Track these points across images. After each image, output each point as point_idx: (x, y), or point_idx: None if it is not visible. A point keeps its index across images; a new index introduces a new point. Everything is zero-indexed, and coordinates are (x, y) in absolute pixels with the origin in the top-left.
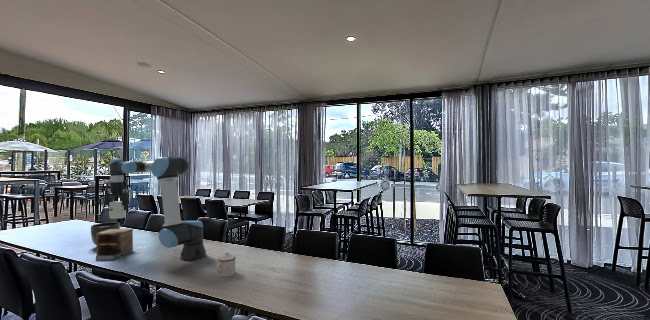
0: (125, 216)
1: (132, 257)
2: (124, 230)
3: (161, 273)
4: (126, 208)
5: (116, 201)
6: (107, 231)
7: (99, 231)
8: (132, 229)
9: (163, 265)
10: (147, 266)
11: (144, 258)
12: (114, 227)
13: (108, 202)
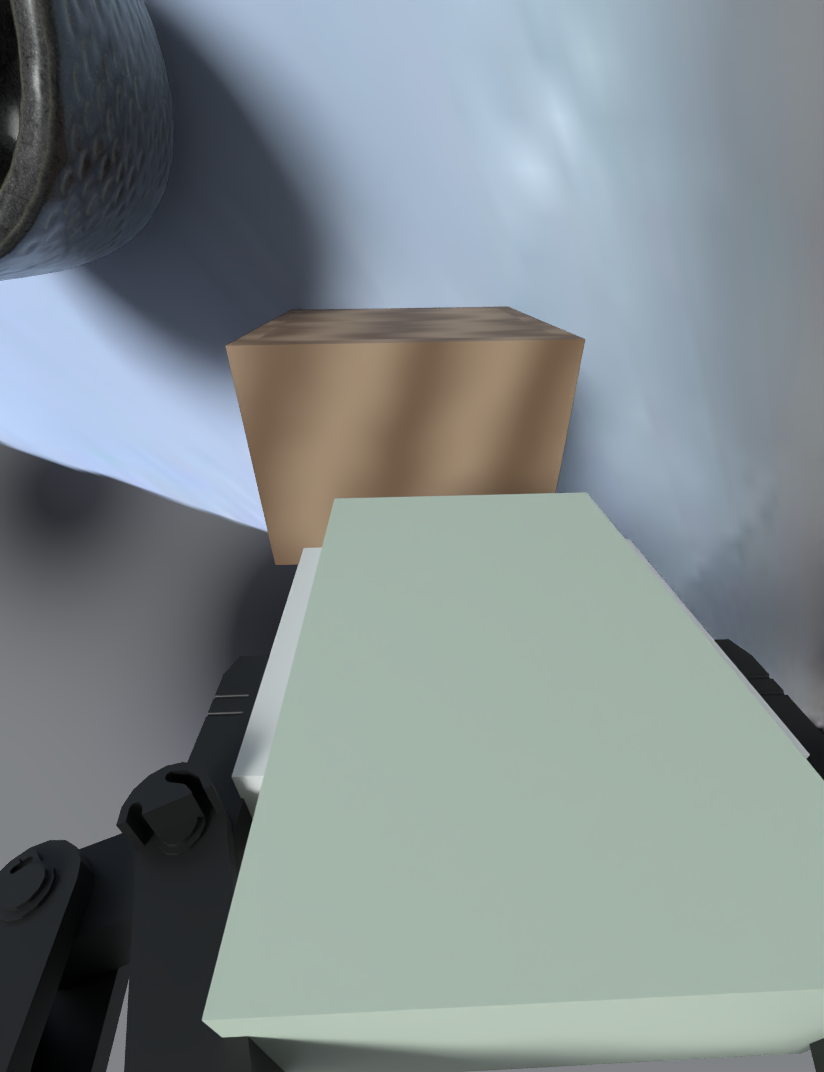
0: (592, 502)
1: (591, 486)
2: (518, 441)
3: (800, 668)
4: (761, 688)
5: (451, 1024)
6: (328, 488)
7: (15, 276)
8: (580, 340)
9: (804, 598)
10: (726, 610)
11: (678, 503)
12: (88, 72)
13: (32, 995)
